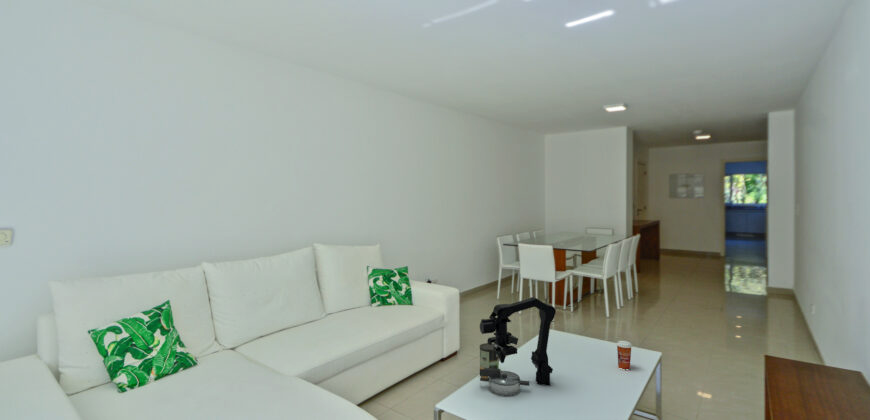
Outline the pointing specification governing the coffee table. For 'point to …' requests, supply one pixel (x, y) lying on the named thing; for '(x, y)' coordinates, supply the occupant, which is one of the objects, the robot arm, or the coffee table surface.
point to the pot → (504, 387)
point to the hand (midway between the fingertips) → (502, 362)
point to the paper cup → (624, 354)
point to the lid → (500, 376)
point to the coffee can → (488, 356)
